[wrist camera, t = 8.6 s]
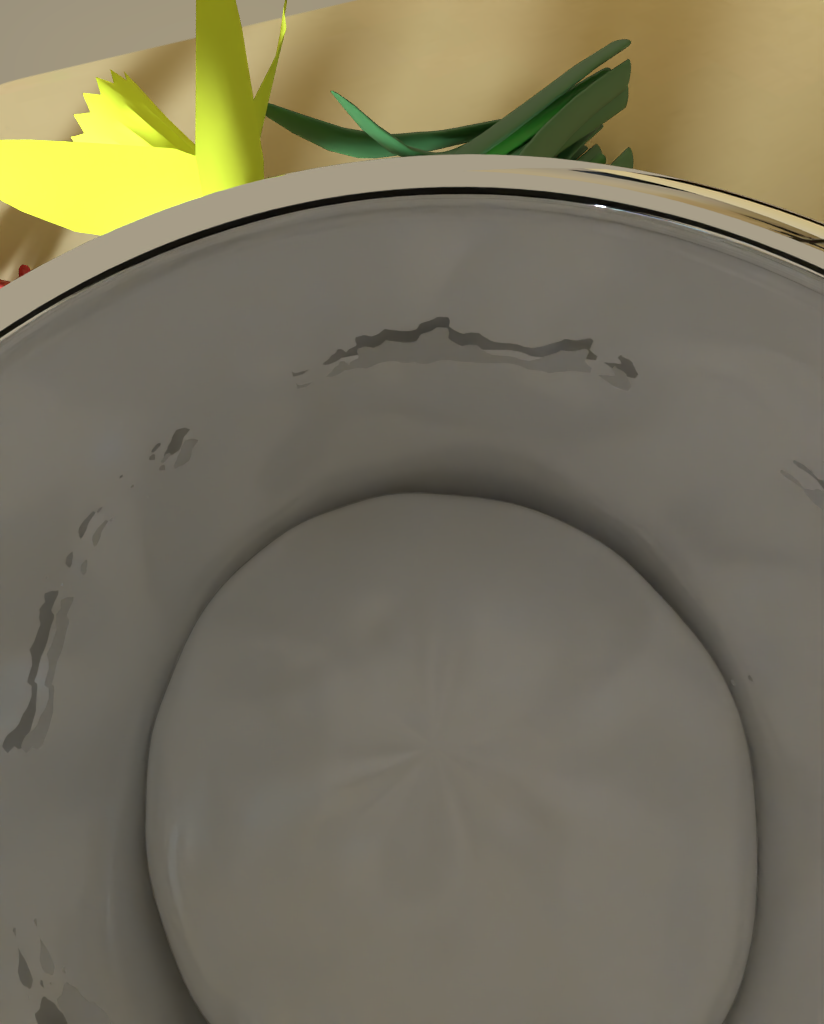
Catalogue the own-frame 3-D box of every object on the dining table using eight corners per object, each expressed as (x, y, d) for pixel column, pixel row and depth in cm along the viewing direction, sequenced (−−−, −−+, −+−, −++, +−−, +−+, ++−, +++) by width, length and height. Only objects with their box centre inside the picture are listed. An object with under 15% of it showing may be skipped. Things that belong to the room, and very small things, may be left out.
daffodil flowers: (744, 226, 32) (500, 722, 13) (529, 277, 41) (206, 607, 22) (731, -175, 23) (-163, -492, 4) (459, 10, 32) (-185, 182, 13)
